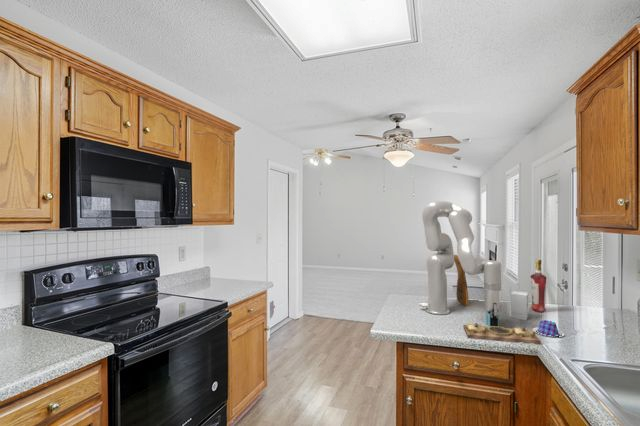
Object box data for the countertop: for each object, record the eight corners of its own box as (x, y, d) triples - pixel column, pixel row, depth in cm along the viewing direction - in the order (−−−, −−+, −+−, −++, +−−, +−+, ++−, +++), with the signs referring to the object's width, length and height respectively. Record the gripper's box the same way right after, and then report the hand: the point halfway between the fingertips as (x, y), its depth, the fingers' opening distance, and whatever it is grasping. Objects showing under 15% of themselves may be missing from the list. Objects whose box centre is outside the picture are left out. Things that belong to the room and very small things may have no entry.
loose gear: (487, 326, 163) (487, 315, 163) (484, 322, 168) (484, 312, 168) (500, 327, 161) (500, 316, 161) (497, 323, 167) (497, 313, 166)
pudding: (570, 335, 151) (570, 323, 151) (554, 340, 146) (554, 328, 146) (542, 327, 162) (542, 316, 162) (526, 331, 157) (526, 320, 157)
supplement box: (526, 320, 171) (527, 295, 170) (510, 317, 175) (510, 293, 175) (528, 316, 177) (528, 292, 176) (512, 314, 181) (512, 290, 181)
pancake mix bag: (458, 306, 195) (458, 257, 195) (452, 298, 214) (452, 253, 213) (470, 307, 194) (471, 258, 193) (464, 298, 212) (464, 253, 212)
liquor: (527, 309, 190) (527, 258, 189) (541, 309, 189) (541, 258, 189) (535, 313, 182) (535, 260, 182) (549, 313, 182) (549, 260, 182)
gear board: (467, 338, 148) (467, 327, 148) (463, 327, 161) (463, 318, 161) (540, 344, 141) (540, 333, 141) (530, 333, 154) (530, 323, 154)
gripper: (480, 282, 174) (480, 317, 174) (487, 290, 157) (487, 329, 157) (496, 283, 172) (496, 318, 172) (505, 291, 155) (505, 330, 155)
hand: (492, 323), depth 165 cm, fingers open, 6 cm apart
